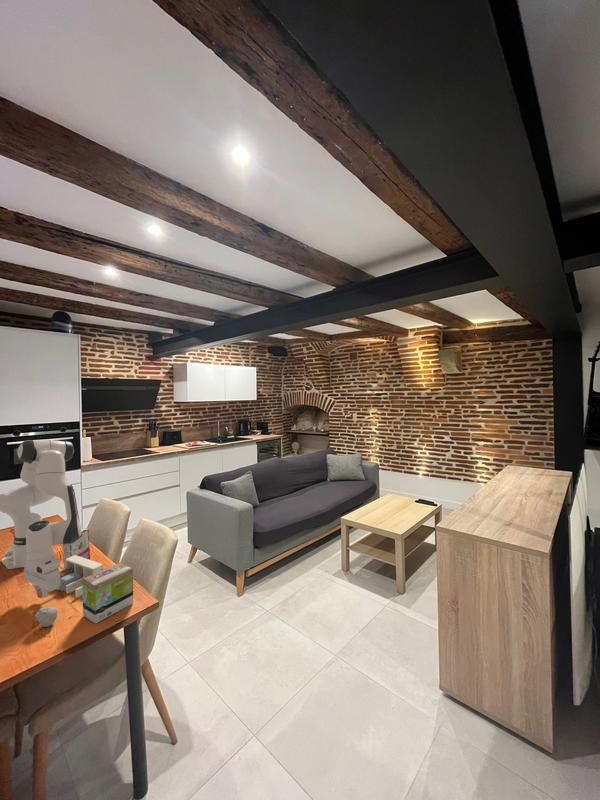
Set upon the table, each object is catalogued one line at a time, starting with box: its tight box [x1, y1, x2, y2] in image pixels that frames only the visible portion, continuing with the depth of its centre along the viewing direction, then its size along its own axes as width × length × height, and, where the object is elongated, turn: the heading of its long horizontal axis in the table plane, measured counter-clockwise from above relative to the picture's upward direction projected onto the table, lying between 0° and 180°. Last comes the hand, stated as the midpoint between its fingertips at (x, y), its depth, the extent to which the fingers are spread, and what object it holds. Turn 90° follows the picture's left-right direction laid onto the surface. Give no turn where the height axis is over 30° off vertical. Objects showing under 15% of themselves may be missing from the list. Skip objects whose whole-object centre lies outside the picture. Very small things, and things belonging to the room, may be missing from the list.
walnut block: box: [59, 569, 73, 578], centre depth 155 cm, size 4×6×5 cm
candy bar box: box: [62, 527, 91, 570], centre depth 171 cm, size 11×5×16 cm, turn 168°
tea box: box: [82, 562, 134, 624], centre depth 135 cm, size 15×10×15 cm
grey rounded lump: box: [34, 606, 59, 628], centre depth 126 cm, size 6×7×7 cm
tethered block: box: [36, 572, 80, 599], centre depth 147 cm, size 4×16×5 cm, turn 153°
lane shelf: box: [56, 555, 104, 599], centre depth 153 cm, size 21×12×9 cm, turn 63°
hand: (41, 595), depth 141 cm, fingers closed on tethered block, 3 cm apart
